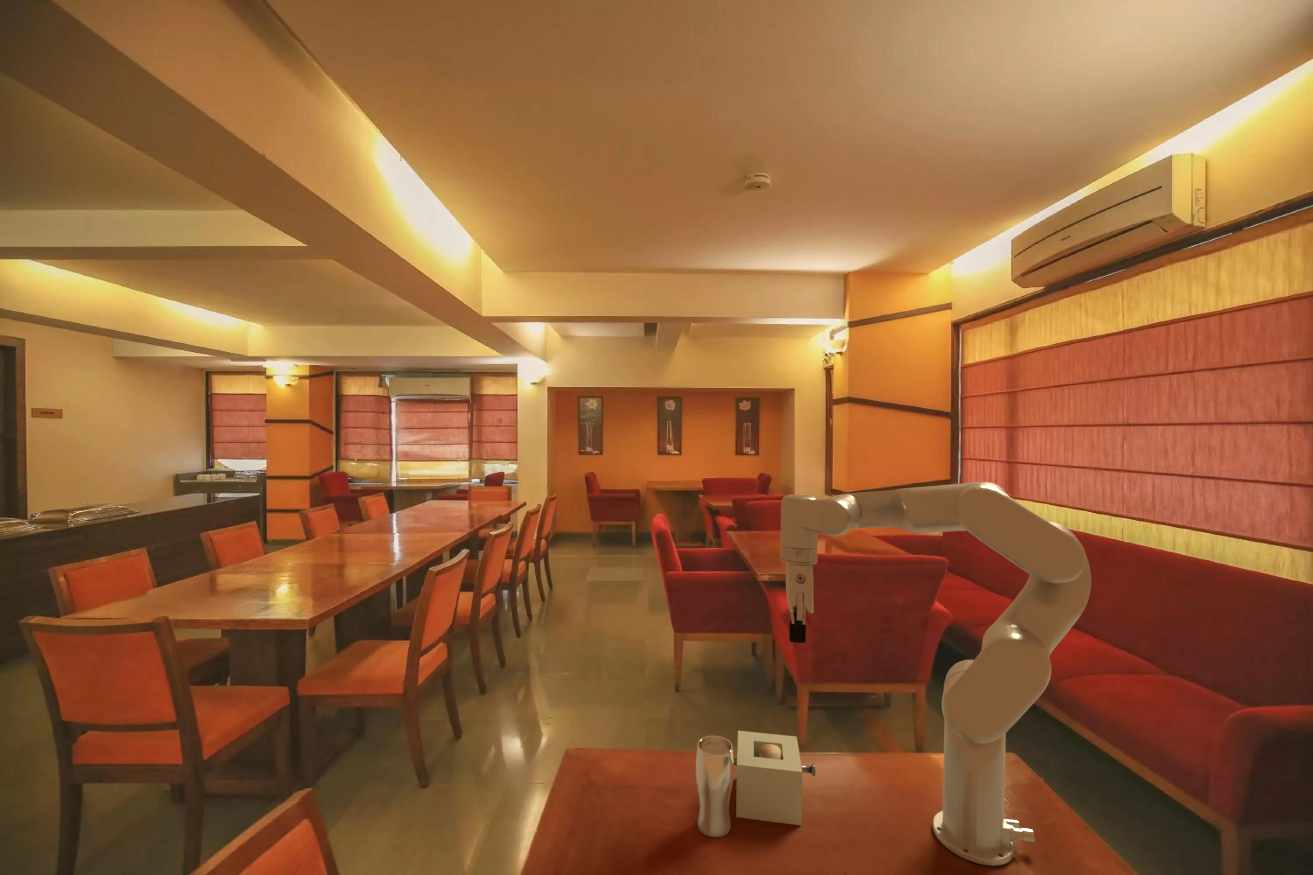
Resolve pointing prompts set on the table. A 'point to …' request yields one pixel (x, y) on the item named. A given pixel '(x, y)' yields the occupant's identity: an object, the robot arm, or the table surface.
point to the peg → (770, 751)
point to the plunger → (809, 769)
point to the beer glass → (714, 784)
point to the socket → (769, 779)
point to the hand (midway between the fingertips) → (797, 640)
